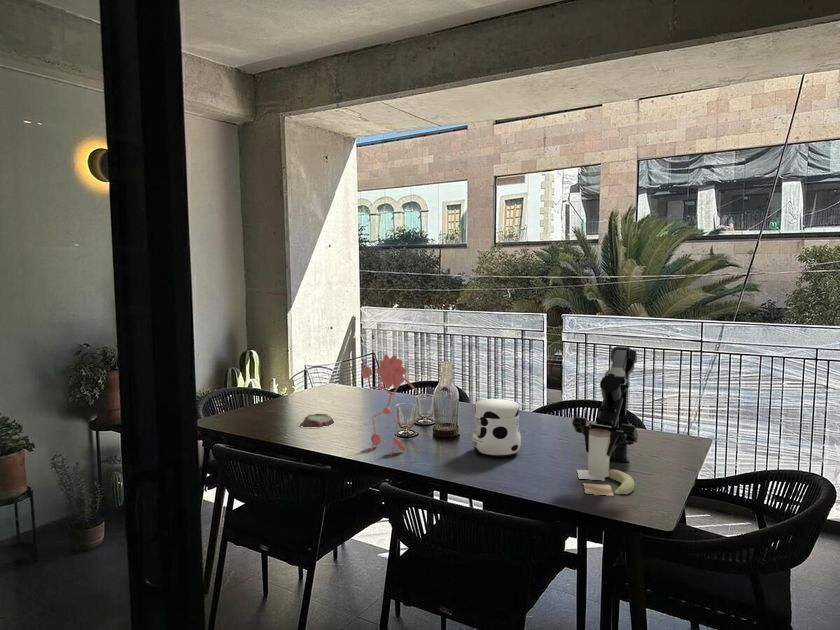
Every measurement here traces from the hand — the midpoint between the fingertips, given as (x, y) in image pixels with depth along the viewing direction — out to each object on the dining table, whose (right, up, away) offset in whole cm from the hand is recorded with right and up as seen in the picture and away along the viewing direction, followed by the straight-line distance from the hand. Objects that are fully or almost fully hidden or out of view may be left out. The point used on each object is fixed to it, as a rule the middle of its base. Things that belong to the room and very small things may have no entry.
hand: (597, 453), depth 175 cm
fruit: (+8, -12, +7) cm, 16 cm away
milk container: (-25, -9, +38) cm, 46 cm away
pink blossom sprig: (-63, -8, +42) cm, 76 cm away
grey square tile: (+2, -10, +14) cm, 18 cm away
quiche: (-97, -6, +76) cm, 123 cm away
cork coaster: (+1, -12, +2) cm, 12 cm away
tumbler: (+1, -6, +2) cm, 7 cm away
